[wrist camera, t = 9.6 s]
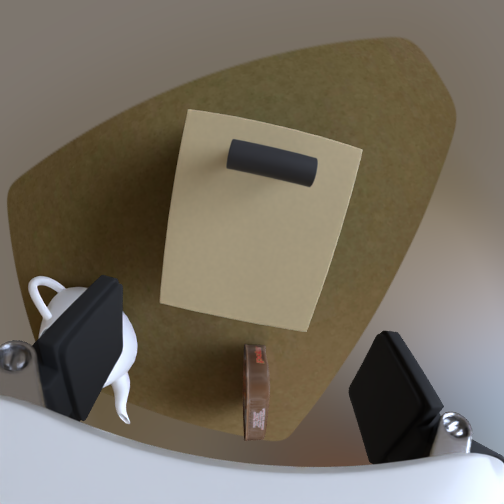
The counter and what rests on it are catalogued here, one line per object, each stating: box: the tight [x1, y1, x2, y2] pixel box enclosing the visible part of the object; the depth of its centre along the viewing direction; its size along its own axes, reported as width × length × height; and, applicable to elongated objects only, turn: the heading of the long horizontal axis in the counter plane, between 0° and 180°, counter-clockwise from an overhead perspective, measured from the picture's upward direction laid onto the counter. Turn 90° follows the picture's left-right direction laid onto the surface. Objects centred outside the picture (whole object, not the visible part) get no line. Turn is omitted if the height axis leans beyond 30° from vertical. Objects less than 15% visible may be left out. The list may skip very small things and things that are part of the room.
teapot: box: [28, 276, 137, 424], centre depth 31 cm, size 22×14×11 cm, turn 25°
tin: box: [243, 344, 270, 441], centre depth 35 cm, size 15×3×8 cm, turn 178°
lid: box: [160, 109, 362, 332], centre depth 20 cm, size 15×13×5 cm
